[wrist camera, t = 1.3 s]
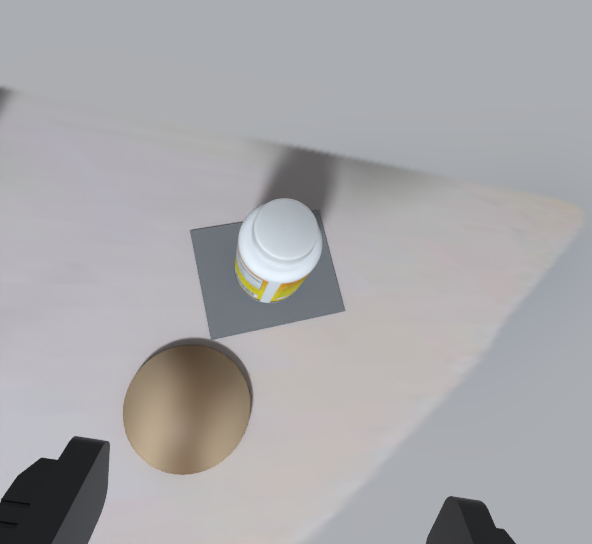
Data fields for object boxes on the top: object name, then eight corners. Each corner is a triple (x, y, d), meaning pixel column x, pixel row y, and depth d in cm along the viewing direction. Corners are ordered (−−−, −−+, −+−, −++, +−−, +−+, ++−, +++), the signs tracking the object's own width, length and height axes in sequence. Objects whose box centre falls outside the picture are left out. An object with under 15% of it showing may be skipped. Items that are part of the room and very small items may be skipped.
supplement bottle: (308, 248, 38) (340, 199, 28) (293, 312, 36) (322, 283, 26) (243, 230, 37) (253, 174, 27) (225, 294, 35) (229, 258, 26)
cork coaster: (135, 488, 31) (133, 490, 30) (116, 360, 33) (114, 359, 32) (261, 453, 33) (262, 454, 32) (236, 334, 35) (237, 333, 34)
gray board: (211, 340, 35) (211, 339, 34) (190, 232, 37) (190, 230, 36) (343, 311, 37) (344, 310, 37) (317, 211, 39) (318, 209, 39)
